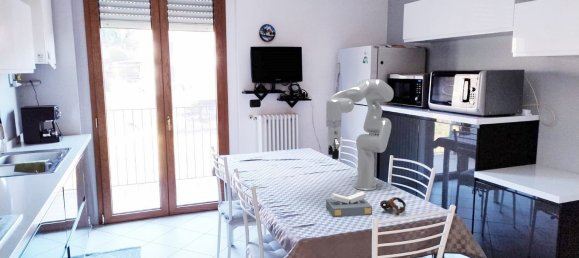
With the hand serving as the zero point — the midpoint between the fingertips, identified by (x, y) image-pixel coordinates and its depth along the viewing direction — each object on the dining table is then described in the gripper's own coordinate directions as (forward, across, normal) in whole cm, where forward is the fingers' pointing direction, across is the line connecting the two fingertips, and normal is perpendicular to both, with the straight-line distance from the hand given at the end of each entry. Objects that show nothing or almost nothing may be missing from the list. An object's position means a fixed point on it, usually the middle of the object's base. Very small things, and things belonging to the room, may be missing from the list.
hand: (333, 156), depth 200 cm
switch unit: (+24, -13, -5) cm, 28 cm away
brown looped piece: (+25, -17, -26) cm, 39 cm away
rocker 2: (+19, -12, -10) cm, 25 cm away
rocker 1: (+19, -13, 0) cm, 23 cm away
